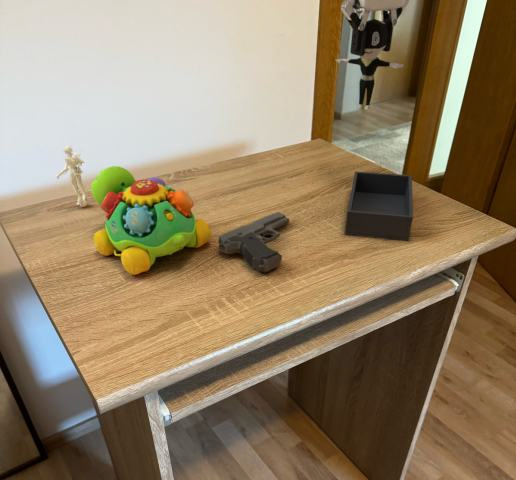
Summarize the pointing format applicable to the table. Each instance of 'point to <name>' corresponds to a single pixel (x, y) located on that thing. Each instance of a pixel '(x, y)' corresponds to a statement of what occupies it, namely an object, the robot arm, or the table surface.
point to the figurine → (75, 174)
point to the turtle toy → (144, 219)
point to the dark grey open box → (380, 206)
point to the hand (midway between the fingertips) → (370, 51)
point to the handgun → (255, 242)
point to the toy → (371, 59)
